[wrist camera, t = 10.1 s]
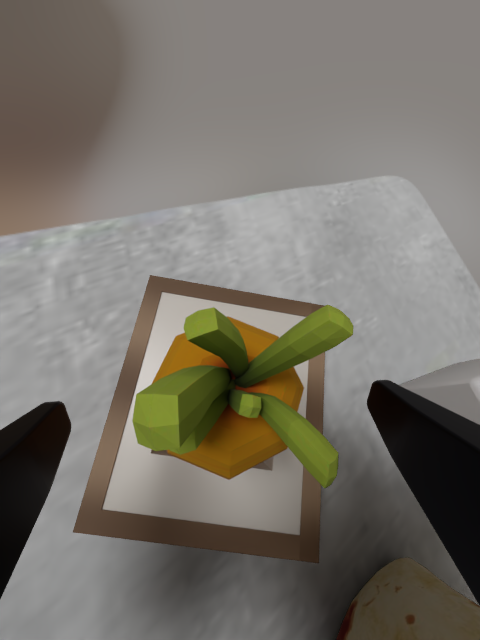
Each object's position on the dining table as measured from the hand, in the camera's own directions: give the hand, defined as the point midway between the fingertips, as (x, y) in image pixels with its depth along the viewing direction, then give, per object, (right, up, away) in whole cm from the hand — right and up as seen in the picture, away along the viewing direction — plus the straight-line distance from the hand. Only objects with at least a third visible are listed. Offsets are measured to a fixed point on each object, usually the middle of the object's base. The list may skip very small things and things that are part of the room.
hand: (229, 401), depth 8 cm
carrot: (-1, -3, +10) cm, 11 cm away
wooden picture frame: (-1, -3, +11) cm, 11 cm away
